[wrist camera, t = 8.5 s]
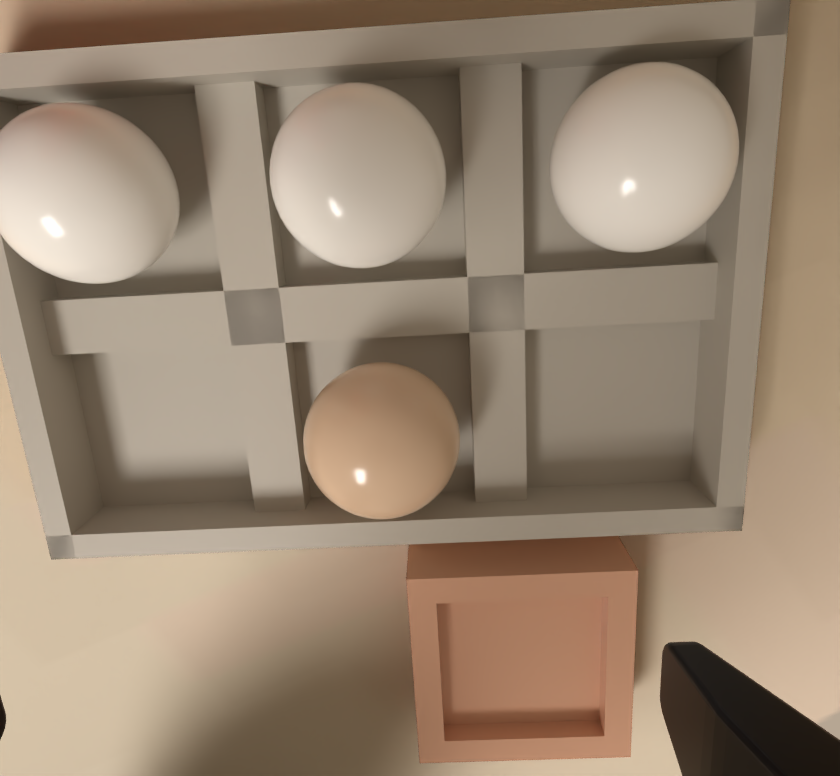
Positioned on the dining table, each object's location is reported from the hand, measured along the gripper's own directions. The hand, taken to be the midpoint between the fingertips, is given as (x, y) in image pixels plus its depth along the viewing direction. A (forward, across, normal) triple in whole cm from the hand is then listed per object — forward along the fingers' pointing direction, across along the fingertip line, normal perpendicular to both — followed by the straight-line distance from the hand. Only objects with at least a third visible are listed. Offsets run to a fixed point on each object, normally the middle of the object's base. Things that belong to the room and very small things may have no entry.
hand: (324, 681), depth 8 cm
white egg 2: (+12, 0, -7) cm, 14 cm away
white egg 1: (+12, +7, -7) cm, 15 cm away
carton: (+12, 0, -3) cm, 13 cm away
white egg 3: (+12, -7, -7) cm, 15 cm away
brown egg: (+12, 0, 0) cm, 12 cm away
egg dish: (+12, -4, +9) cm, 15 cm away
